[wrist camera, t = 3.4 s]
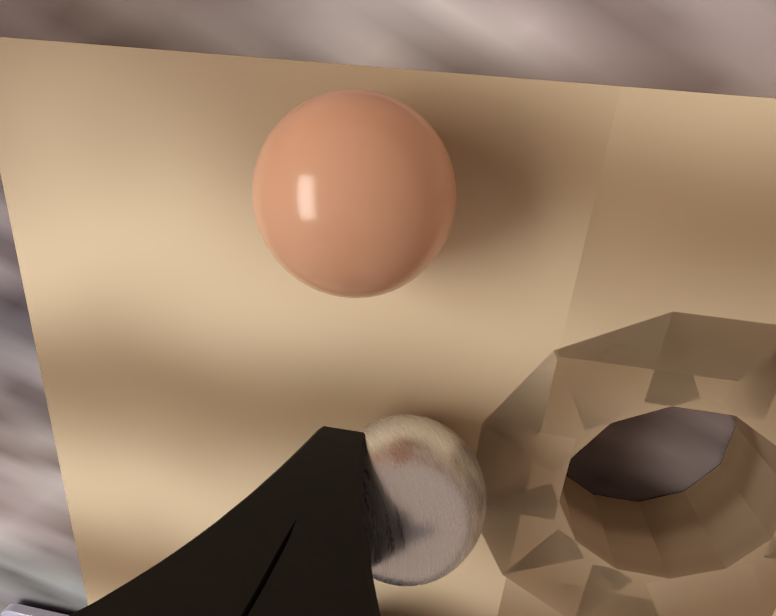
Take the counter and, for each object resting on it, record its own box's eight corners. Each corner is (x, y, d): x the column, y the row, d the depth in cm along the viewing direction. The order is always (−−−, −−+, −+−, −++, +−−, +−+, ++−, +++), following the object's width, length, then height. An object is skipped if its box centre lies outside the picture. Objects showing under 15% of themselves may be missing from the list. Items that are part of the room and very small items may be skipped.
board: (735, 671, 16) (780, 767, 13) (139, 549, 18) (90, 614, 16) (1019, 126, 10) (1189, 131, 7) (68, 48, 12) (-28, 35, 10)
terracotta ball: (447, 275, 10) (437, 344, 7) (291, 255, 10) (218, 314, 7) (471, 100, 9) (470, 95, 6) (293, 84, 9) (207, 72, 6)
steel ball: (312, 527, 12) (436, 486, 13) (362, 655, 9) (515, 588, 10) (301, 406, 10) (438, 373, 12) (354, 510, 8) (527, 452, 9)
